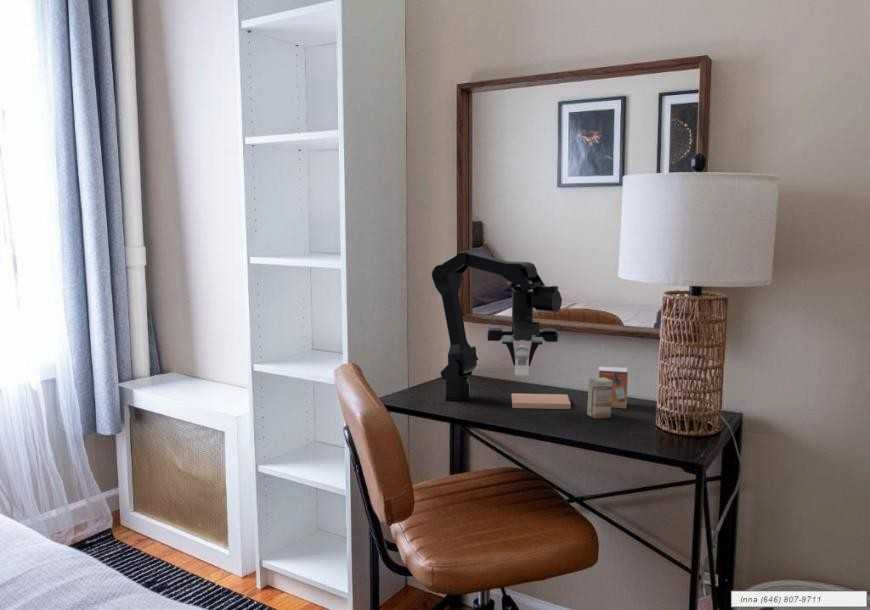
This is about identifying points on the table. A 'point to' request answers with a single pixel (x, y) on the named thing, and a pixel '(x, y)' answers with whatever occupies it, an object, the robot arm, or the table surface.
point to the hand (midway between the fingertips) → (521, 365)
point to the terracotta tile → (541, 401)
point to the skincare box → (599, 397)
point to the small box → (616, 384)
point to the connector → (521, 360)
